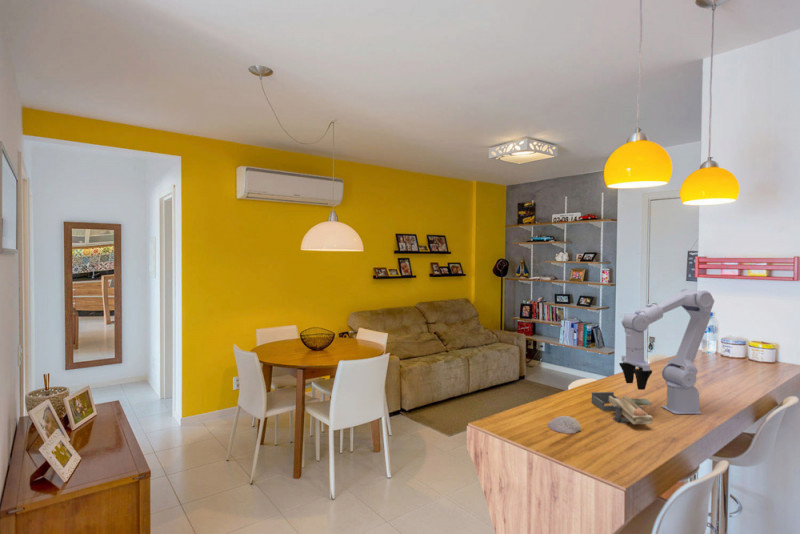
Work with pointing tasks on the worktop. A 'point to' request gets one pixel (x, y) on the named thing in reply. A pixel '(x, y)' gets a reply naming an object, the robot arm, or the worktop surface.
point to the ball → (638, 412)
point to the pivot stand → (618, 415)
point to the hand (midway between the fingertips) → (635, 386)
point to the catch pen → (603, 400)
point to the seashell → (564, 425)
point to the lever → (632, 409)
